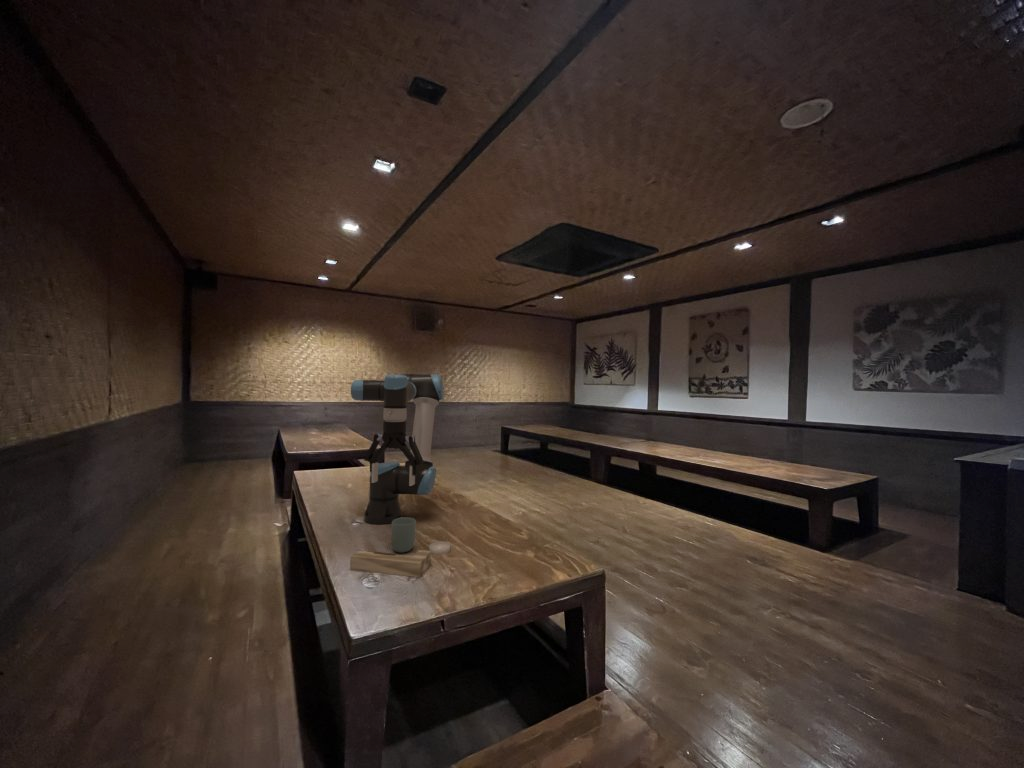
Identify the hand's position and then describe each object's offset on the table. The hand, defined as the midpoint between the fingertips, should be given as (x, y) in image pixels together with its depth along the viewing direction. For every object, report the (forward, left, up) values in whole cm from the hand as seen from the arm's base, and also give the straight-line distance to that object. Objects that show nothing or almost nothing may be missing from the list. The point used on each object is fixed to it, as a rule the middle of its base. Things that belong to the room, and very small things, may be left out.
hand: (393, 483), depth 133 cm
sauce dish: (-5, +16, -23) cm, 28 cm away
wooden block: (+11, +6, -23) cm, 26 cm away
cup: (-2, +4, -23) cm, 23 cm away
